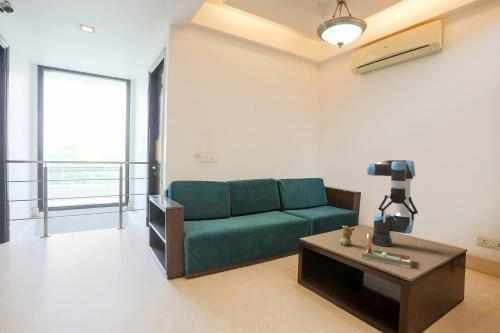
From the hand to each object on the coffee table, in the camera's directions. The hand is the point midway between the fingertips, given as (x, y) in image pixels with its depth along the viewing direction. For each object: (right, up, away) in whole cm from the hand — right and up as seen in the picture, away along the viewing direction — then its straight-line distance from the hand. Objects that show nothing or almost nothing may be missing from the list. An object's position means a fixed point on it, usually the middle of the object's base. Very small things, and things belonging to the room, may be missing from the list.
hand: (397, 223), depth 157 cm
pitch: (+3, -27, +17) cm, 32 cm away
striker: (-6, -26, +23) cm, 35 cm away
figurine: (-13, -26, +46) cm, 55 cm away
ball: (+2, -24, +18) cm, 30 cm away
